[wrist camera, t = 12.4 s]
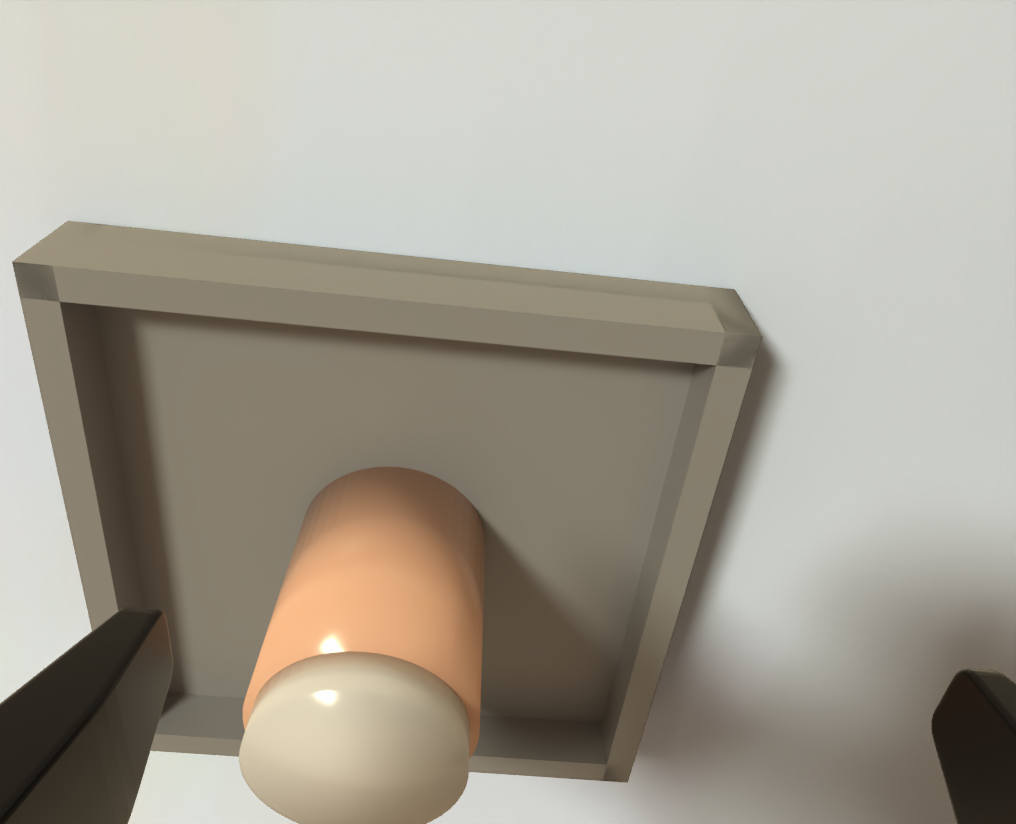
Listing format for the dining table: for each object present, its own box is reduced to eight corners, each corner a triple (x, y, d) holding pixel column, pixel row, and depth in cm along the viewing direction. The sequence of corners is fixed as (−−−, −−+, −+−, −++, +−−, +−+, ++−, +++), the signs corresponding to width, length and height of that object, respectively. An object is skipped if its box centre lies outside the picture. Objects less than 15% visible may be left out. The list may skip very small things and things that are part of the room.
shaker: (494, 475, 22) (490, 695, 16) (477, 613, 24) (467, 847, 18) (300, 458, 21) (220, 675, 15) (303, 600, 24) (236, 833, 18)
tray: (734, 289, 20) (762, 336, 18) (618, 715, 28) (627, 782, 26) (67, 220, 19) (12, 261, 17) (148, 681, 27) (117, 748, 25)
